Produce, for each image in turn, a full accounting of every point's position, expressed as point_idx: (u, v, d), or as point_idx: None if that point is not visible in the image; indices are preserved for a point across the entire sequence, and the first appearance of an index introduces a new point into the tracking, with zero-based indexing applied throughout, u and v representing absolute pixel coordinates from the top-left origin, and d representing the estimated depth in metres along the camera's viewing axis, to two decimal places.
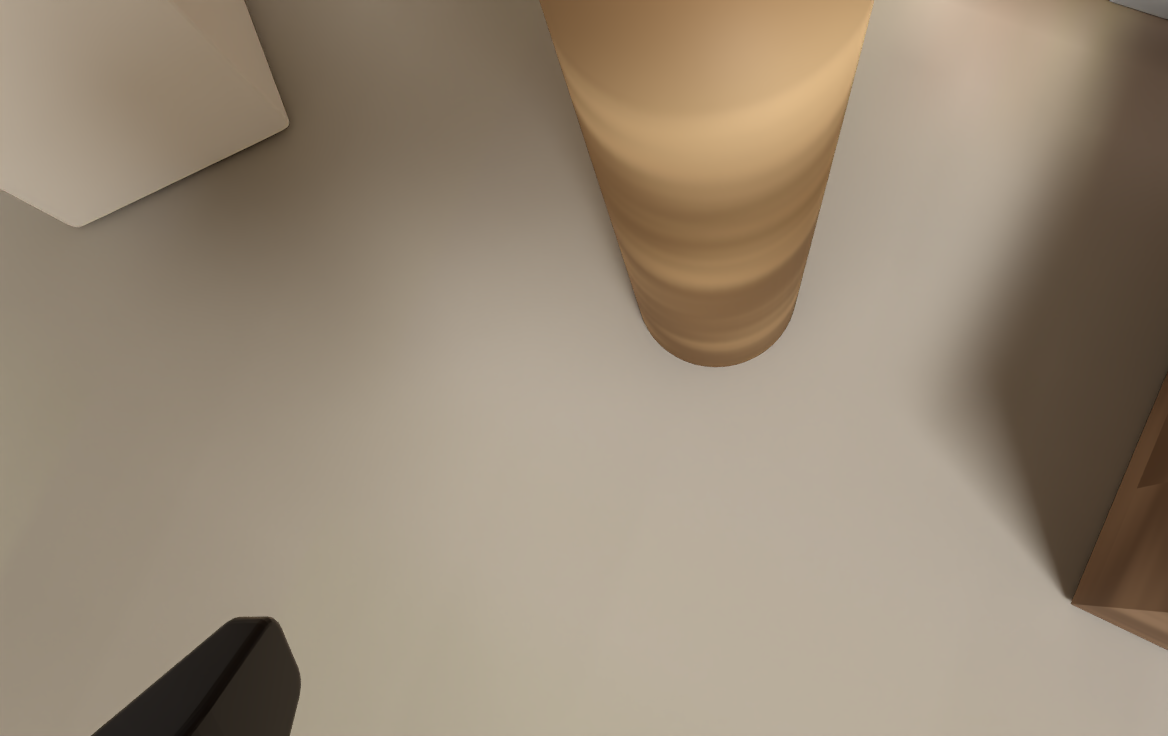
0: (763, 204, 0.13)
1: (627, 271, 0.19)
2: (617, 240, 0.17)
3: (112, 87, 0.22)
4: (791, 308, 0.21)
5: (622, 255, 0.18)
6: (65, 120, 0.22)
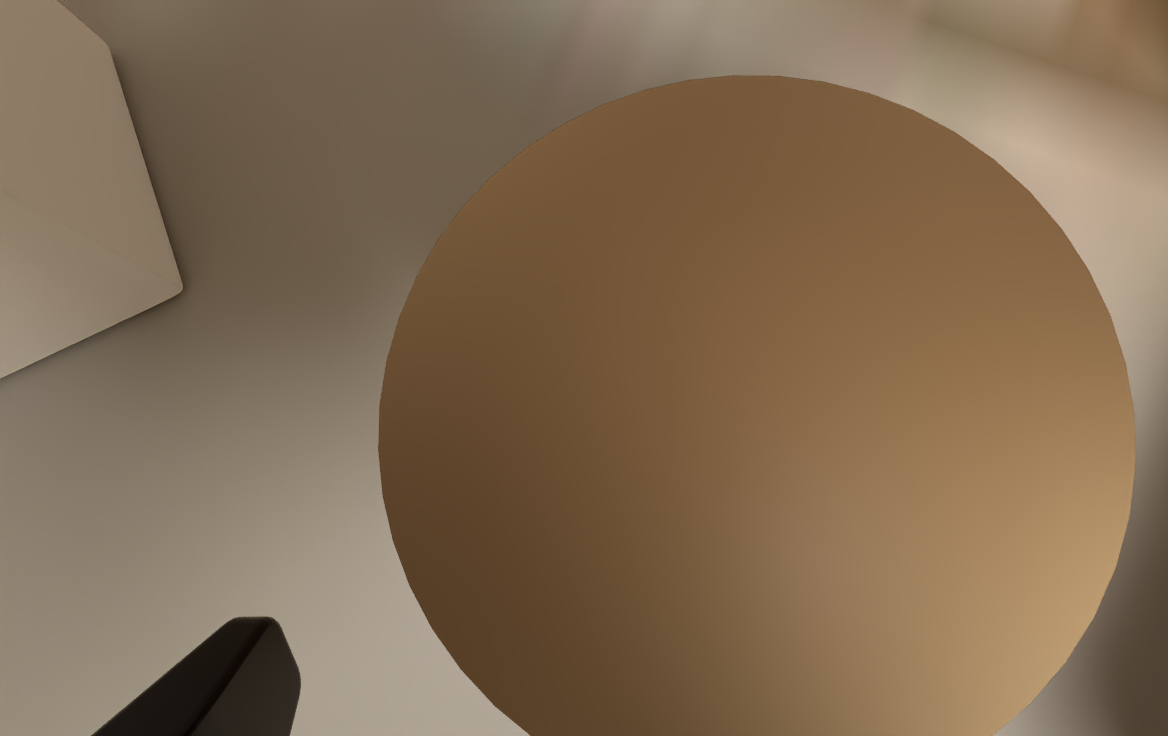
0: None
1: None
2: None
3: None
4: None
5: None
6: None
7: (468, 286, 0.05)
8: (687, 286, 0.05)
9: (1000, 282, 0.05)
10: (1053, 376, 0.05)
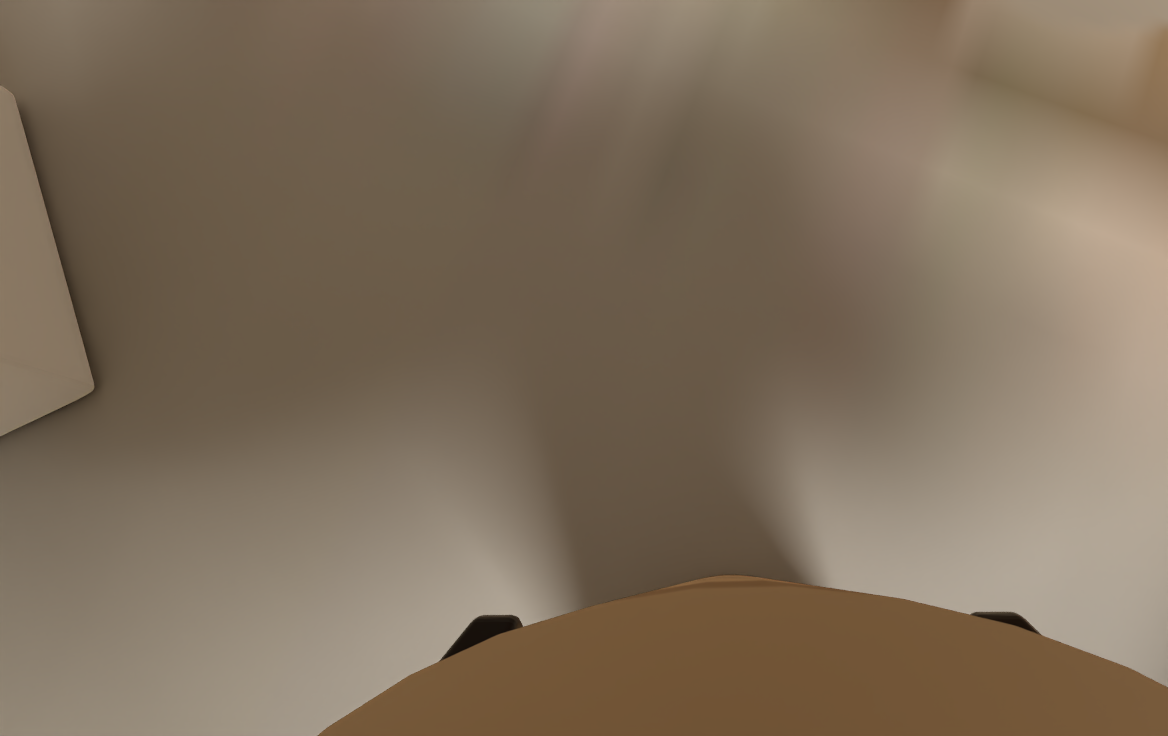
0: None
1: None
2: None
3: None
4: None
5: None
6: None
7: None
8: None
9: None
10: None
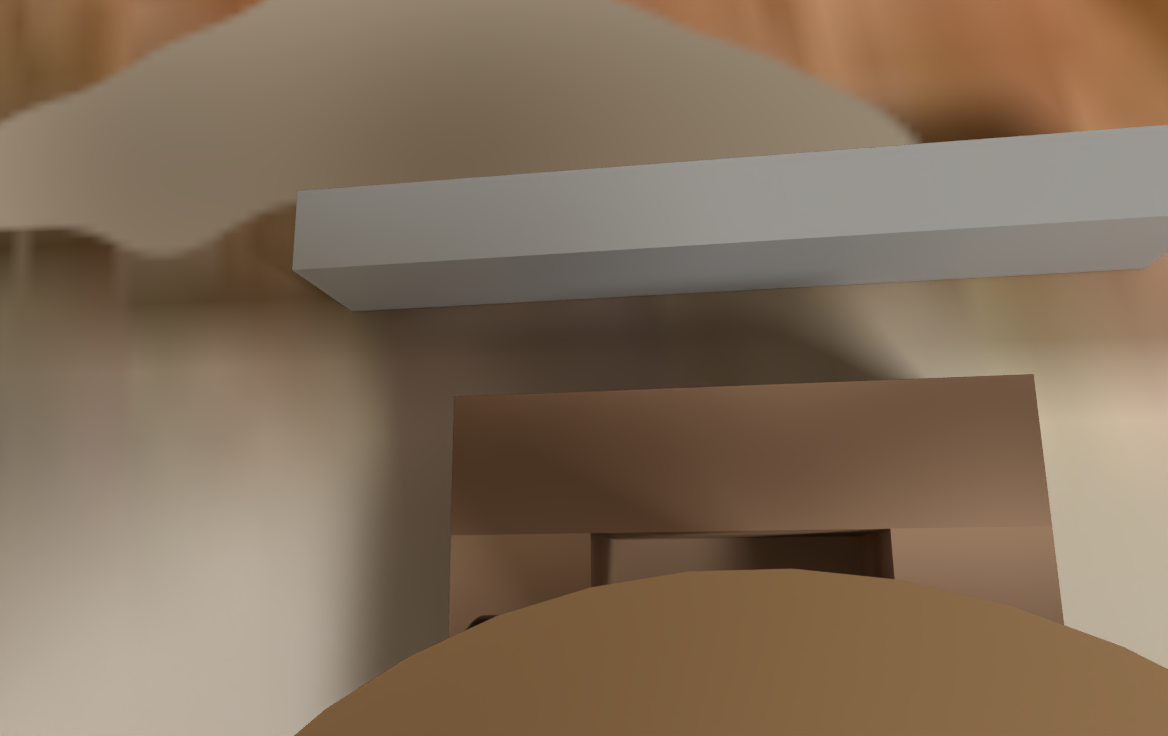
0: None
1: None
2: None
3: None
4: None
5: None
6: None
7: None
8: None
9: None
10: None
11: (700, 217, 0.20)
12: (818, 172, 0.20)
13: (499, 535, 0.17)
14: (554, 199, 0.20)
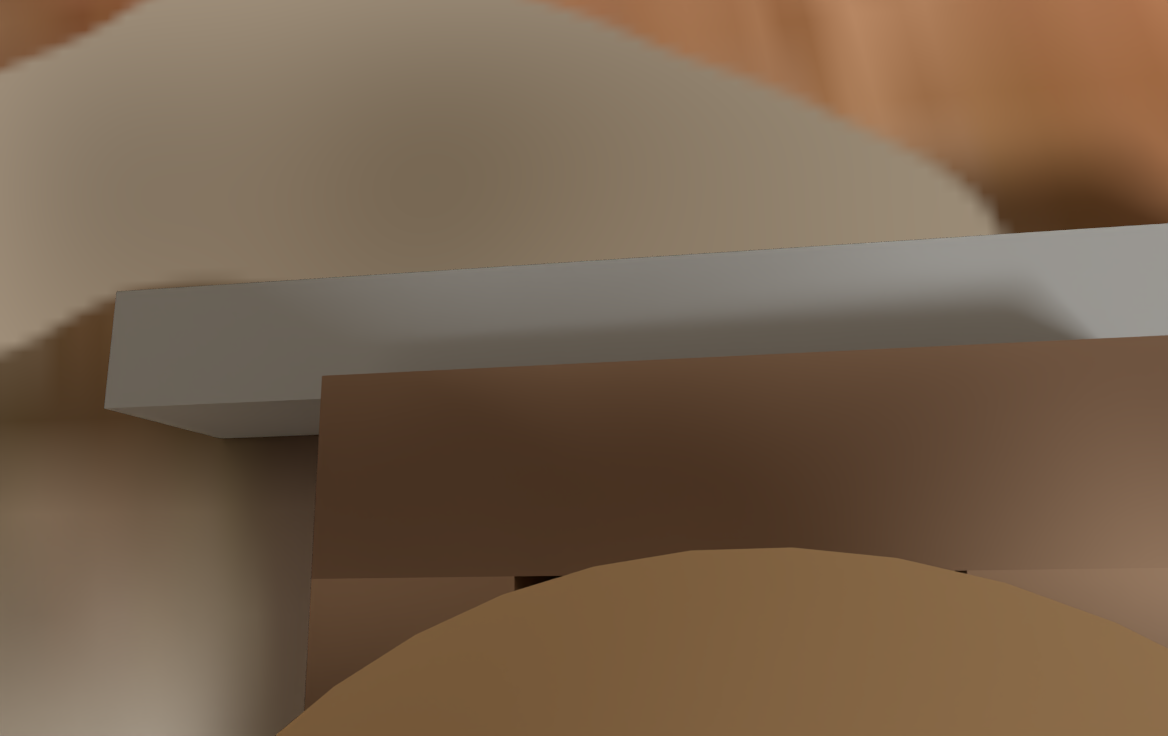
0: None
1: None
2: None
3: None
4: None
5: None
6: None
7: None
8: None
9: None
10: None
11: (688, 340, 0.13)
12: (863, 275, 0.13)
13: (381, 579, 0.12)
14: (477, 310, 0.14)
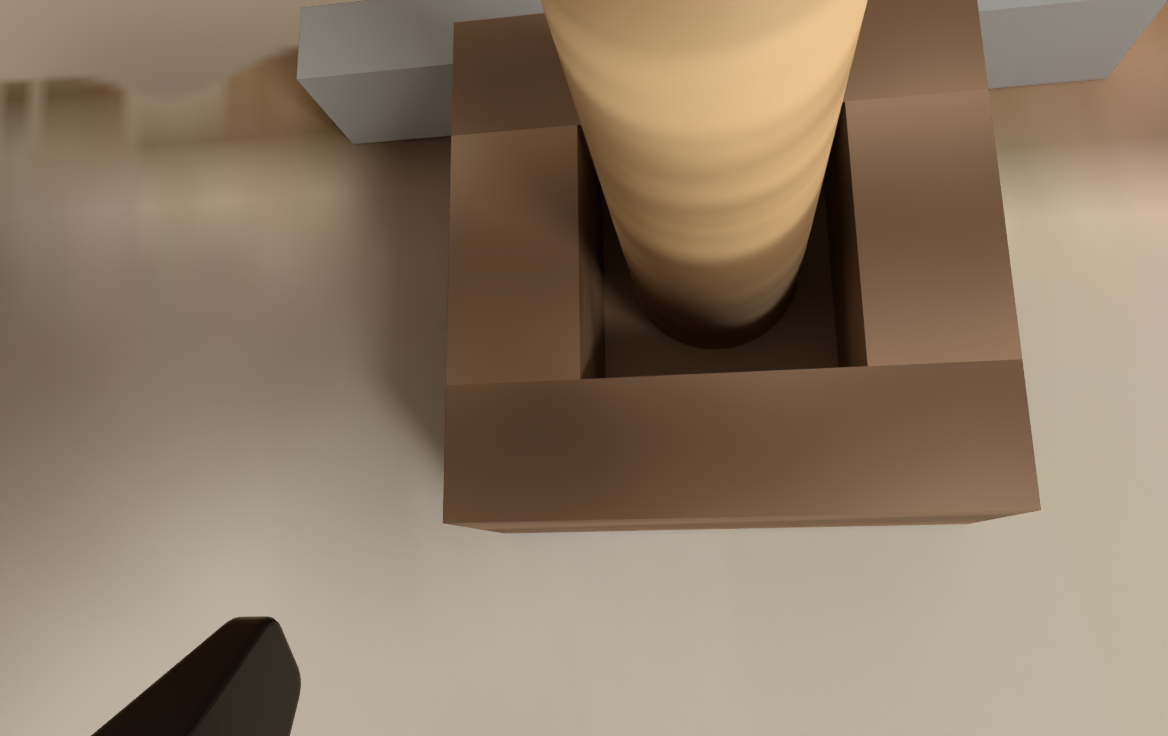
0: (763, 164, 0.12)
1: (621, 247, 0.18)
2: None
3: None
4: (793, 287, 0.20)
5: (615, 228, 0.17)
6: None
7: None
8: None
9: None
10: None
11: None
12: None
13: (495, 132, 0.19)
14: None
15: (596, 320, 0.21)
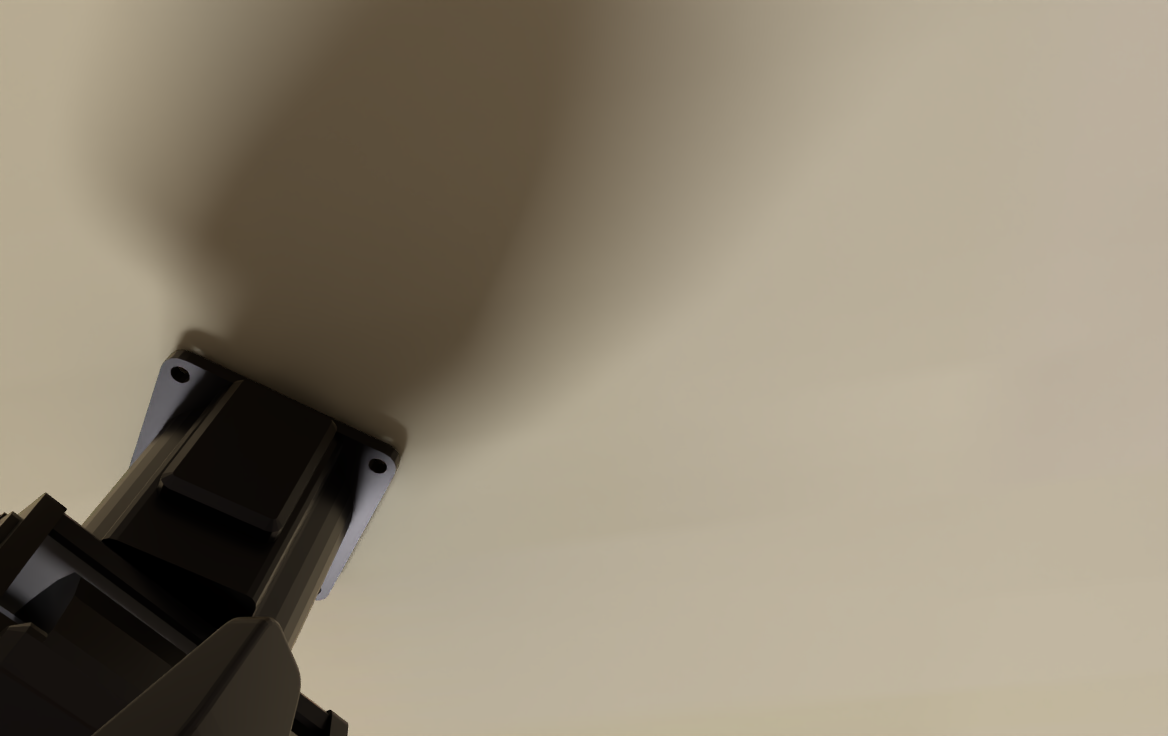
0: None
1: None
2: None
3: None
4: None
5: None
6: None
7: None
8: None
9: None
10: None
11: None
12: None
13: None
14: None
15: None
